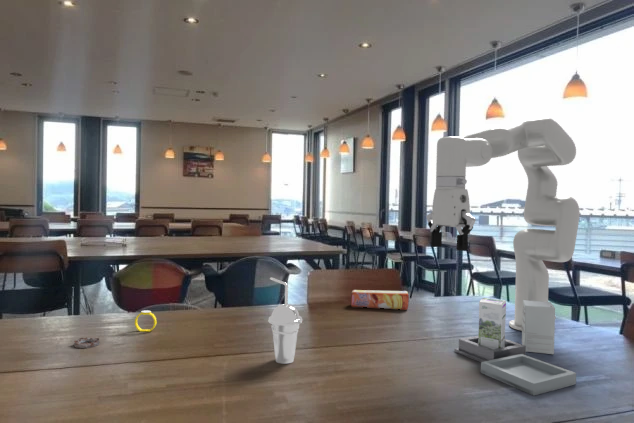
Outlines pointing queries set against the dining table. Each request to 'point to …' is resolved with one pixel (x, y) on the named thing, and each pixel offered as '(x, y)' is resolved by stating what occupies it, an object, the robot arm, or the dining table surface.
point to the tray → (528, 374)
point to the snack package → (380, 299)
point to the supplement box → (538, 326)
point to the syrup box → (492, 323)
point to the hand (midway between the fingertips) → (448, 248)
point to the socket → (487, 349)
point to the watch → (145, 314)
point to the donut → (86, 342)
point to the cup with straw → (284, 329)
